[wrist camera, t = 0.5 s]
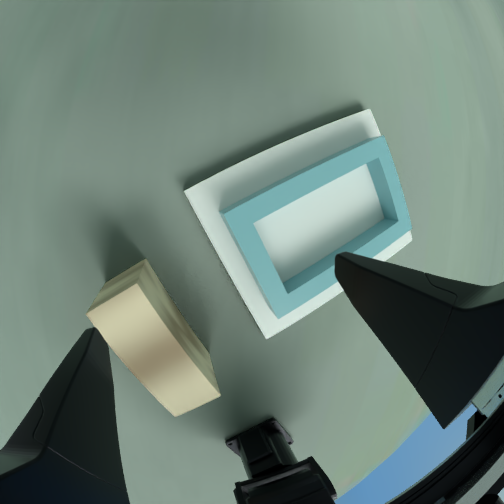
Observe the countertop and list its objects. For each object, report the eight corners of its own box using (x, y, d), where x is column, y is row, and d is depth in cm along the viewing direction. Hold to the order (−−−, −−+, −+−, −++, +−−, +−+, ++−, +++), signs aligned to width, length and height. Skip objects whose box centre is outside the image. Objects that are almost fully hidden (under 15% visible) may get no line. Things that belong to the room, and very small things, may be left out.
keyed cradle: (405, 238, 27) (425, 243, 24) (263, 334, 25) (274, 351, 22) (363, 110, 23) (383, 104, 20) (183, 190, 20) (185, 191, 17)
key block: (208, 352, 24) (221, 395, 18) (171, 371, 23) (175, 417, 18) (146, 257, 21) (137, 283, 15) (105, 282, 20) (85, 314, 14)
